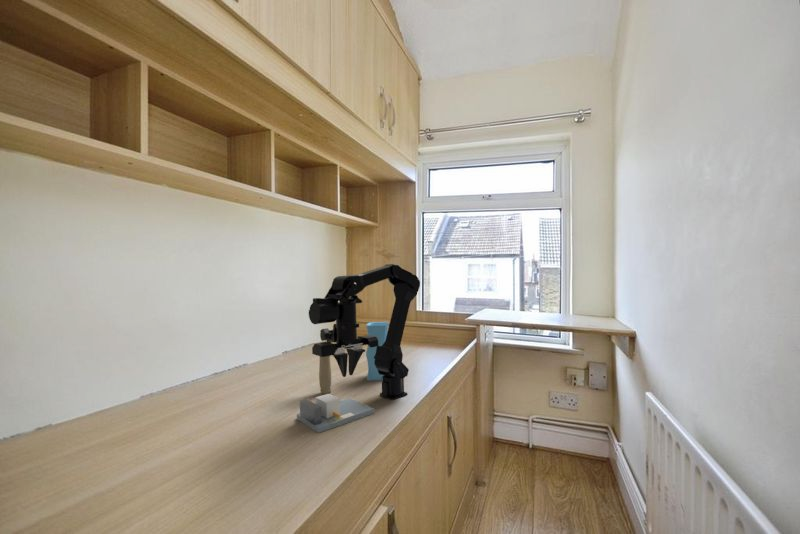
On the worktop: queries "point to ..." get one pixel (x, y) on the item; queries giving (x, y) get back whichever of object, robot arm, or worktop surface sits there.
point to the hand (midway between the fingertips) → (347, 375)
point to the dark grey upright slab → (311, 412)
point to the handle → (325, 375)
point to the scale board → (341, 415)
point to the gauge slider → (329, 405)
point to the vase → (380, 332)
